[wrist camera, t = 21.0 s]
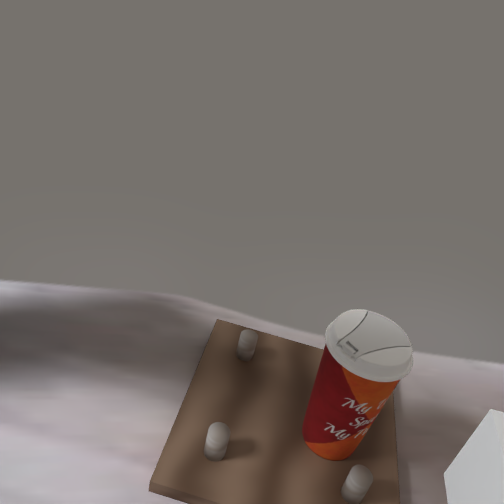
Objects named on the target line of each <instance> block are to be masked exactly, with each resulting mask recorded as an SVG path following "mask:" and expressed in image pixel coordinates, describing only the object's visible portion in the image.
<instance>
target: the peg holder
mask: <svg viewBox="0 0 504 504" xmlns="http://www.w3.org/2000/svg"><path fill="white" fill-rule="evenodd" d="M323 351H324V350H323V349H319V348H316V347H312V346H309V345H305V344H302V343H298V342H295V341H291V340H288V339H284V338H281V337H278V336H274V335H271V334H267V333H264V332H260V331H257V330H253V329H250V328H246V327H243V326H240V325H236V324H233V323H229V322H226V321H222V320H219V319H217V321H216V323H215V326H214V328H213V331H212V333H211V335H210V338H209V340H208V343H207V345H206V348H205V350H204V352H203V355H202V357H201V360H200V362H199V364H198V367H197V369H196V372H195V374H194V376H193V379H192V381H191V384H190V386H189V389H188V391H187V393H186V396H185V398H184V401H183V403H182V405H181V408H180V410H179V413H178V415H177V417H176V420H175V422H174V425H173V427H172V430H171V432H170V434H169V437H168V439H167V442H166V444H165V446H164V449H163V451H162V454H161V456H160V458H159V461H158V463H157V466H156V468H155V471H154V473H153V475H152V478H151V480H150V485H149V491H150V492H154V493H157V494H160V495H163V496H166V497H169V498H172V499H176V500H179V501H182V502H185V503H188V504H400V496H399V480H398V464H397V447H396V431H395V415H394V398H393V392H392V393H391V395H390V396H389V398H388V399H387V401H386V403H385V404H384V406H383V407H382V409H381V411H380V412H379V414H378V415H377V417H376V418H375V420H374V422H373V423H372V425H371V426H370V428H369V429H368V431H367V433H366V434H365V436H364V437H363V439H362V440H361V442H360V443H359V445H358V446H357V448H356V449H355V451H354V452H353V453H352V454H351V455H350V456H349V457H348V458H346V459H344V460H340V461H331V460H327V459H324V458H322V457H320V456H318V455H316V454H315V453H314V452H313V451H312V450H311V449H310V448H309V447H308V446H307V444H306V443H305V441H304V438H303V434H302V426H303V421H304V417H305V413H306V410H307V406H308V403H309V399H310V396H311V392H312V389H313V385H314V382H315V379H316V375H317V372H318V368H319V365H320V362H321V358H322V355H323Z"/></svg>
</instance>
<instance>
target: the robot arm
mask: <svg viewBox="0 0 504 504" xmlns="http://www.w3.org/2000/svg"><path fill="white" fill-rule="evenodd" d="M444 480H445V487H446V494H447V500H448V504H504V412H500V411H497V410H494V409H490V411H489V412H488V413H487V415H486V416H485V417H484V419H483V420H482V422H481V423H480V424H479V426H478V427H477V428H476V430H475V431H474V433H473V434H472V435H471V437H470V438H469V440H468V441H467V442H466V444H465V445H464V446H463V448H462V449H461V451H460V452H459V453H458V455H457V456H456V457H455V459H454V460H453V462H452V463H451V464H450V466H449V467H448V469H447V470H446V471H445V473H444Z"/></svg>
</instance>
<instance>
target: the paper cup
mask: <svg viewBox="0 0 504 504" xmlns="http://www.w3.org/2000/svg"><path fill="white" fill-rule="evenodd" d="M325 342H326V344H325V348H324V351H323V355H322V358H321V362H320V365H319V368H318V372H317V375H316V379H315V382H314V385H313V389H312V392H311V396H310V399H309V403H308V406H307V410H306V413H305V417H304V421H303V426H302V434H303V438H304V441H305V443H306V444H307V446H308V447H309V448H310V449H311V450H312V451H313V452H314V453H315V454H316V455H318V456H320V457H322V458H324V459H327V460H331V461H340V460H344V459H346V458H348V457H349V456H350V455H351V454H352V453H353V452H354V451H355V449H356V448H357V446H358V445H359V443H360V442H361V440H362V439H363V437H364V436H365V434H366V433H367V431H368V429H369V428H370V426H371V425H372V423H373V422H374V420H375V418H376V417H377V415H378V414H379V412H380V411H381V409H382V407H383V406H384V404H385V403H386V401H387V399H388V398H389V396H390V395H391V393H392V392H393V390H394V388H395V387H396V385H397V384H398V382H399V380H400V379H402V378H404V377H405V376H406V375H408V373H409V372H410V371H411V368H412V365H413V357H412V352H413V349H412V345H411V342H410V340H409V338H408V336H407V334H406V333H405V331H404V330H403V329H402V328H401V327H400V326H399V325H397V324H396V323H395V322H393V321H392V320H390V319H389V318H387V317H385V316H383V315H381V314H378V313H375V312H372V311H367V310H363V309H354V310H349V311H346V312H344V313H342V314H340V315H339V316H338V317H337V318H336V319H335V320H334V321H332V322H331V323H330V324H329V326H328V327H327V329H326V332H325Z"/></svg>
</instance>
